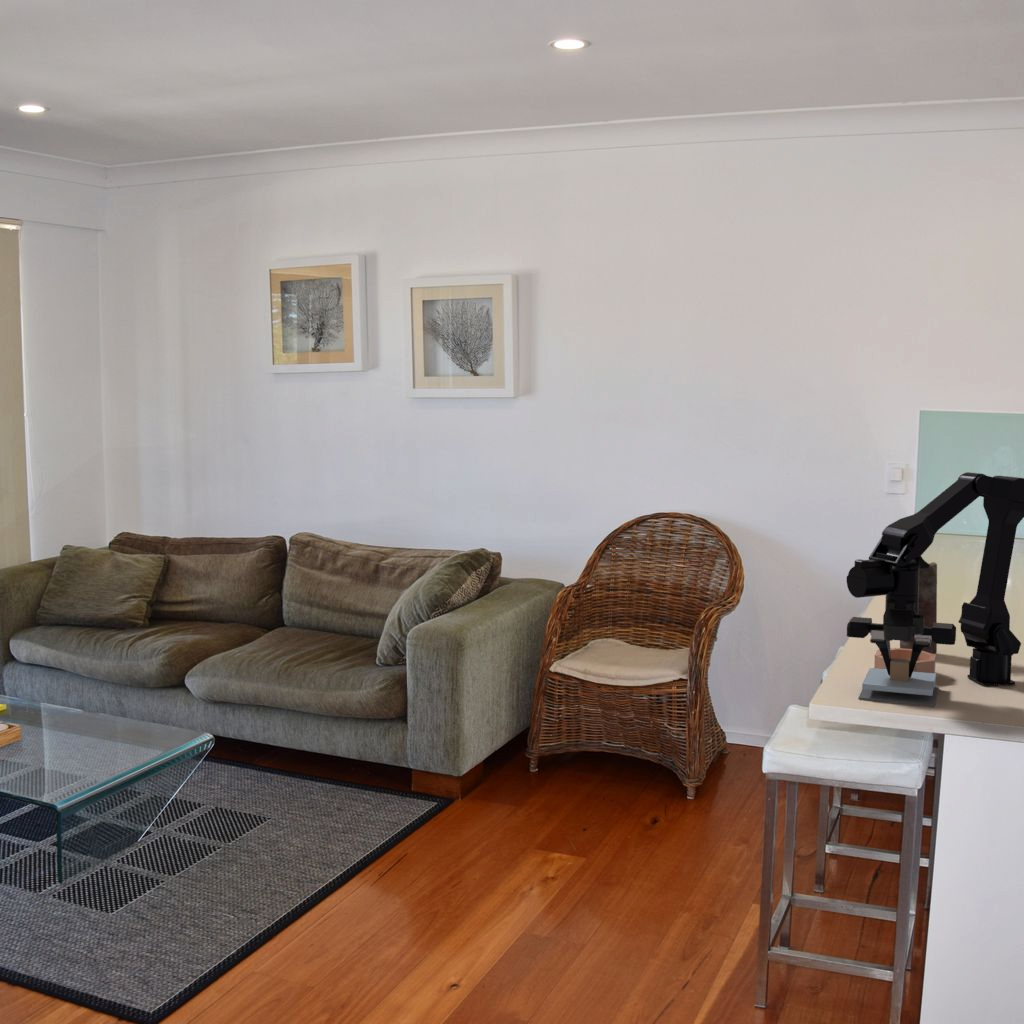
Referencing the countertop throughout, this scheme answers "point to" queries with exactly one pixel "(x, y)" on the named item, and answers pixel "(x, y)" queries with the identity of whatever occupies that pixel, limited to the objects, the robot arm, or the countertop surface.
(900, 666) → the lid
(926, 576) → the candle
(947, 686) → the countertop surface
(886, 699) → the mat
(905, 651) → the dish
